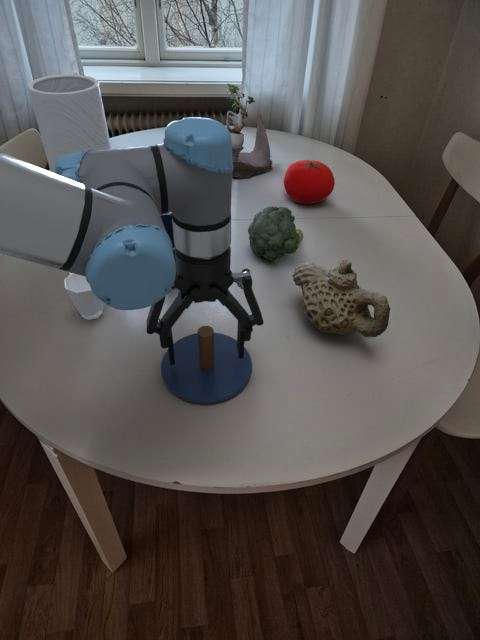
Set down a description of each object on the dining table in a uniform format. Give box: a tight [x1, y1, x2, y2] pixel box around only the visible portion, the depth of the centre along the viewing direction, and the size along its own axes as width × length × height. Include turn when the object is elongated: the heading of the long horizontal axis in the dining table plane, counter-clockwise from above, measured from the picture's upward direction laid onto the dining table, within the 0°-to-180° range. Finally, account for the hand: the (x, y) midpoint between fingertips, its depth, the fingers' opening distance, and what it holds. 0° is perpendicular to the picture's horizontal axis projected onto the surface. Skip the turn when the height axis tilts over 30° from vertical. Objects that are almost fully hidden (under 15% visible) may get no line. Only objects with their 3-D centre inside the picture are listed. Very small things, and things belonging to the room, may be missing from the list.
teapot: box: [292, 258, 391, 338], centre depth 78 cm, size 21×12×15 cm, turn 40°
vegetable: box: [247, 205, 304, 262], centre depth 98 cm, size 12×13×15 cm
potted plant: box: [225, 82, 273, 180], centre depth 131 cm, size 20×19×25 cm
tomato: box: [283, 159, 336, 205], centre depth 118 cm, size 14×13×10 cm
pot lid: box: [160, 325, 253, 404], centre depth 72 cm, size 16×16×9 cm
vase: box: [27, 74, 112, 174], centre depth 98 cm, size 14×14×32 cm
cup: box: [63, 272, 104, 321], centre depth 82 cm, size 7×10×8 cm
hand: (206, 355), depth 72 cm, fingers open, 11 cm apart
